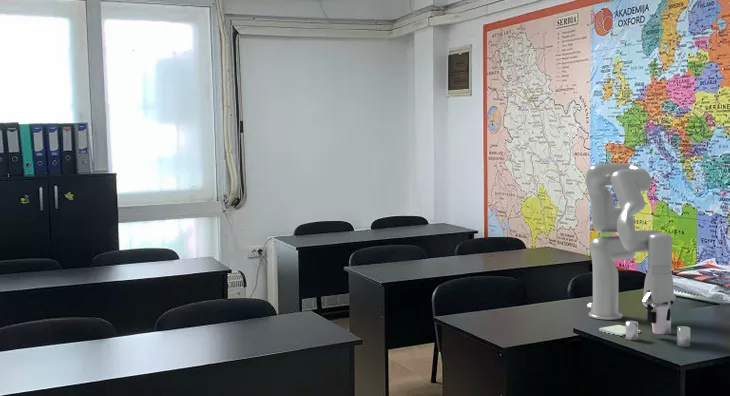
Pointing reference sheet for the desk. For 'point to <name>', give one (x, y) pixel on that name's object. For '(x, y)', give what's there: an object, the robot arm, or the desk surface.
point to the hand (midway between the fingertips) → (658, 320)
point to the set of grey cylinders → (682, 332)
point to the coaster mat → (615, 330)
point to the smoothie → (660, 318)
